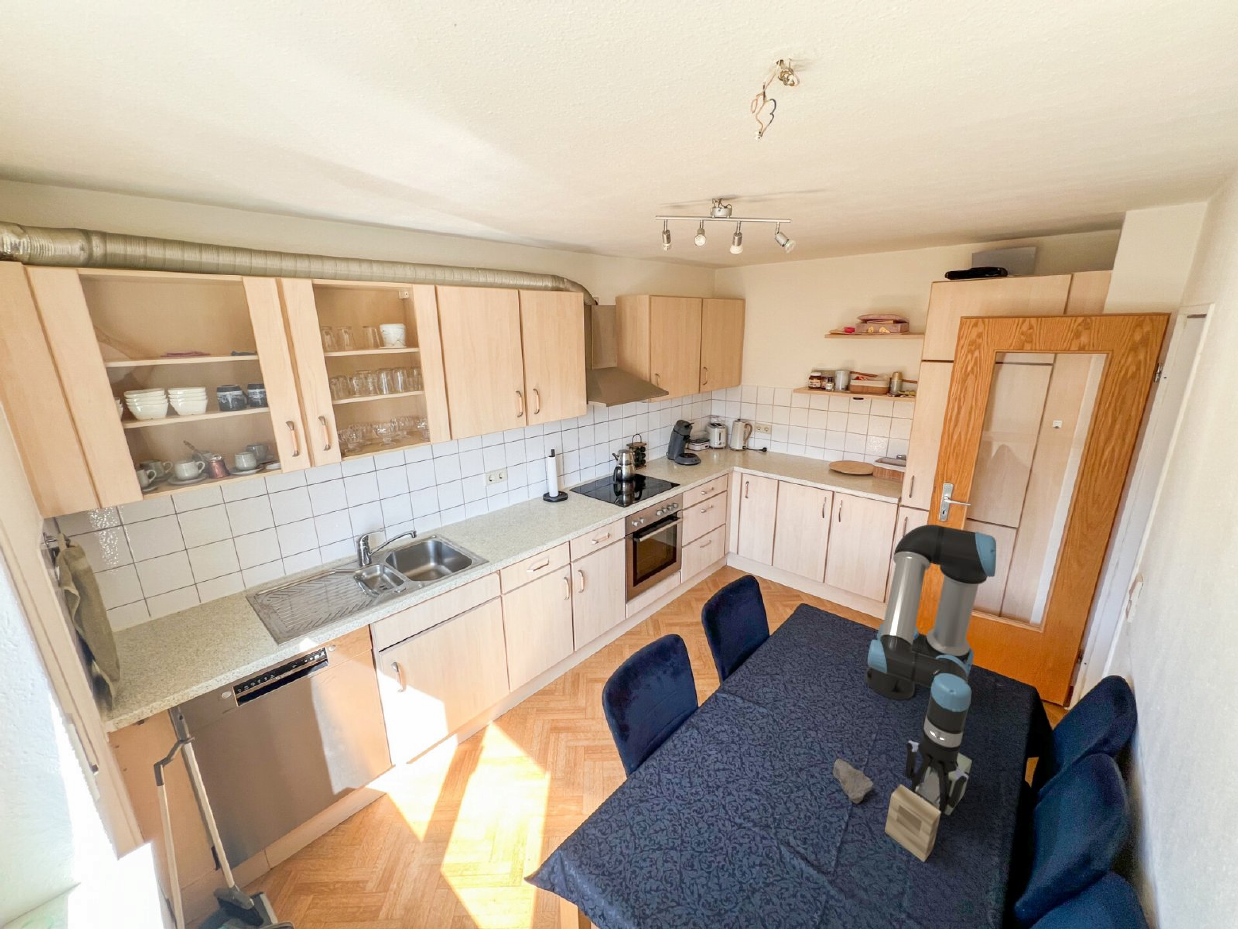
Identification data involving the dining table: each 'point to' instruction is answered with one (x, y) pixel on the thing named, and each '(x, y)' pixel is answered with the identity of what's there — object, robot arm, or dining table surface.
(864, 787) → the stone
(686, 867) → the dining table surface
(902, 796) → the socket block
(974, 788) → the dining table surface
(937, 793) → the grey-banded white peg
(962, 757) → the sleeve
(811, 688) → the dining table surface
